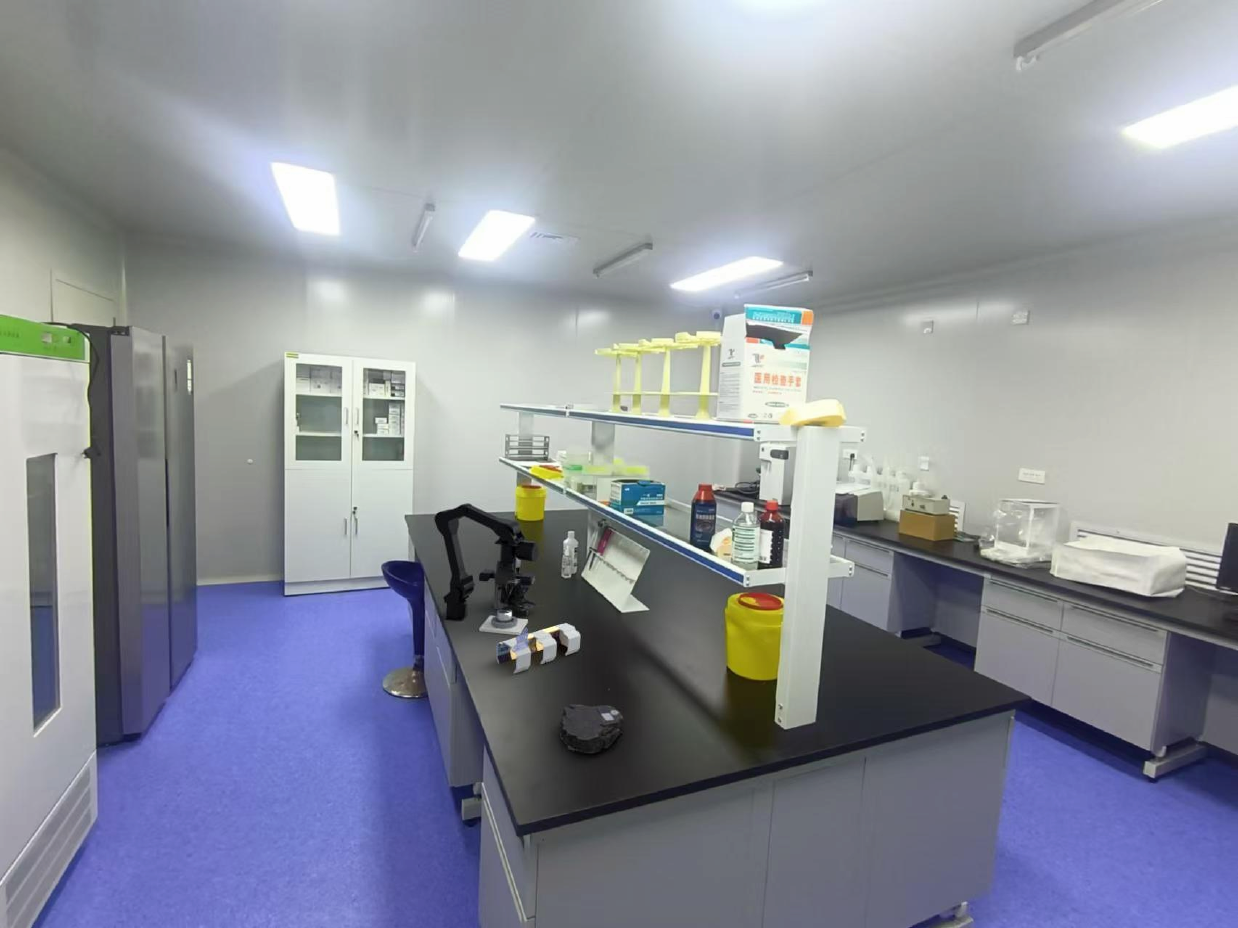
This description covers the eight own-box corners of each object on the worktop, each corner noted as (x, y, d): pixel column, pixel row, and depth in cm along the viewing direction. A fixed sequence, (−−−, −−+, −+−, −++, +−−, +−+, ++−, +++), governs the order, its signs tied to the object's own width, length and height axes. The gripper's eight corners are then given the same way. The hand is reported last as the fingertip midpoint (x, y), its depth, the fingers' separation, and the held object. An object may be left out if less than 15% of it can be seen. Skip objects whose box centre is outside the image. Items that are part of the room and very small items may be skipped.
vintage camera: (519, 620, 204) (524, 568, 202) (491, 608, 213) (496, 557, 211) (538, 614, 212) (543, 564, 210) (511, 602, 221) (515, 554, 219)
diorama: (515, 676, 162) (518, 632, 161) (495, 663, 169) (497, 621, 168) (579, 653, 180) (581, 614, 179) (558, 642, 187) (561, 604, 186)
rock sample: (602, 765, 124) (604, 744, 124) (542, 744, 130) (543, 724, 130) (631, 726, 140) (633, 707, 140) (576, 709, 146) (577, 691, 146)
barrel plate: (479, 631, 191) (479, 624, 191) (489, 618, 203) (490, 611, 203) (519, 635, 190) (519, 628, 190) (527, 622, 202) (528, 615, 202)
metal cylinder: (494, 625, 194) (495, 611, 194) (499, 620, 199) (500, 606, 199) (508, 627, 194) (509, 613, 193) (513, 621, 199) (513, 608, 198)
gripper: (474, 561, 187) (472, 606, 188) (529, 566, 186) (526, 611, 187) (484, 553, 198) (482, 595, 200) (536, 557, 197) (534, 600, 198)
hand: (506, 600), depth 196 cm, fingers closed
